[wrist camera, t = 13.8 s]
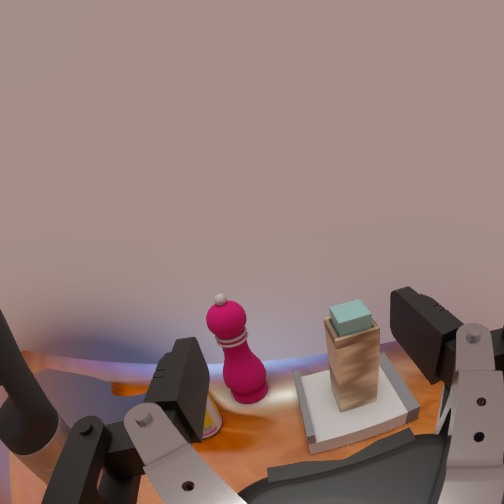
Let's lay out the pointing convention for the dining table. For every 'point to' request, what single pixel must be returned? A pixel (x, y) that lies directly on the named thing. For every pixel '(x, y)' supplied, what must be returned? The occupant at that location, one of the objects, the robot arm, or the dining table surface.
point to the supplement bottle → (211, 418)
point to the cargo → (350, 318)
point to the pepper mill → (236, 351)
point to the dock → (355, 420)
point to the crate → (353, 366)
